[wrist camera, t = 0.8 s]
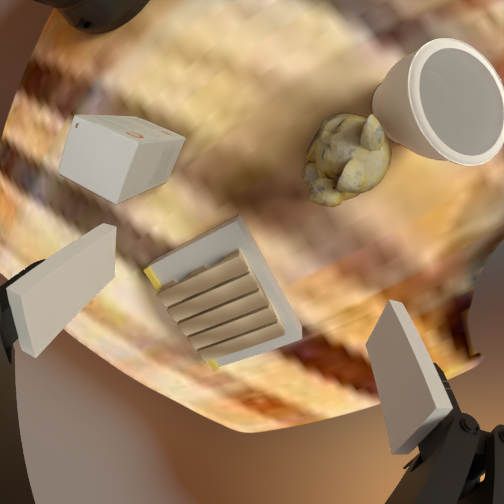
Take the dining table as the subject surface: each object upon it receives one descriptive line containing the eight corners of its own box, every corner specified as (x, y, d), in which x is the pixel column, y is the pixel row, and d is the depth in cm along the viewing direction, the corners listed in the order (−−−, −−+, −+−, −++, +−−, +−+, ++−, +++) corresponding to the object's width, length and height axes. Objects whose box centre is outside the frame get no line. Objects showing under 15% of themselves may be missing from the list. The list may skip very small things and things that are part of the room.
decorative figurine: (322, 106, 32) (343, 85, 18) (385, 135, 32) (441, 137, 18) (292, 180, 36) (294, 208, 22) (355, 206, 36) (391, 250, 22)
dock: (154, 259, 42) (143, 270, 39) (240, 214, 38) (235, 222, 35) (219, 355, 47) (214, 370, 43) (301, 326, 43) (302, 341, 39)
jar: (352, 75, 30) (390, 39, 16) (426, 66, 28) (491, 39, 14) (375, 160, 34) (426, 176, 20) (446, 147, 31) (519, 159, 17)
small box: (118, 159, 37) (55, 173, 25) (135, 115, 35) (73, 112, 23) (168, 183, 38) (116, 207, 26) (188, 137, 35) (139, 140, 23)
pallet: (162, 284, 40) (155, 293, 37) (241, 246, 36) (237, 254, 34) (209, 351, 43) (205, 362, 40) (285, 325, 39) (285, 336, 37)
